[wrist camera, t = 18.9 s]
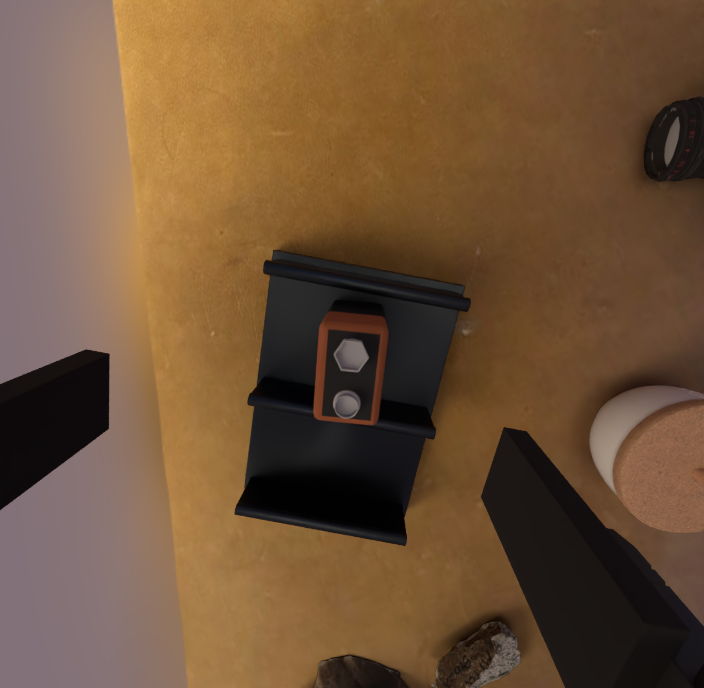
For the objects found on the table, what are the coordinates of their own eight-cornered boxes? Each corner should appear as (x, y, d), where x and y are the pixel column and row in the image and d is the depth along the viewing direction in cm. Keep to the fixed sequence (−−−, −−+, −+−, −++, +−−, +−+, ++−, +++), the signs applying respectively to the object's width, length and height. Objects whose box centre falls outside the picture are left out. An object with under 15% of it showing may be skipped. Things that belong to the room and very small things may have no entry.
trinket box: (590, 357, 34) (672, 401, 25) (709, 380, 34) (834, 431, 25) (551, 462, 36) (612, 536, 27) (661, 483, 37) (757, 563, 28)
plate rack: (247, 480, 38) (227, 520, 33) (276, 249, 32) (257, 251, 27) (403, 509, 39) (409, 554, 33) (462, 284, 32) (480, 293, 27)
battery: (384, 303, 32) (391, 331, 22) (375, 379, 34) (378, 435, 24) (332, 298, 32) (316, 323, 22) (326, 374, 34) (309, 428, 24)
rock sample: (497, 735, 41) (490, 766, 34) (437, 671, 45) (420, 686, 39) (545, 645, 43) (548, 657, 36) (483, 592, 48) (475, 594, 41)
